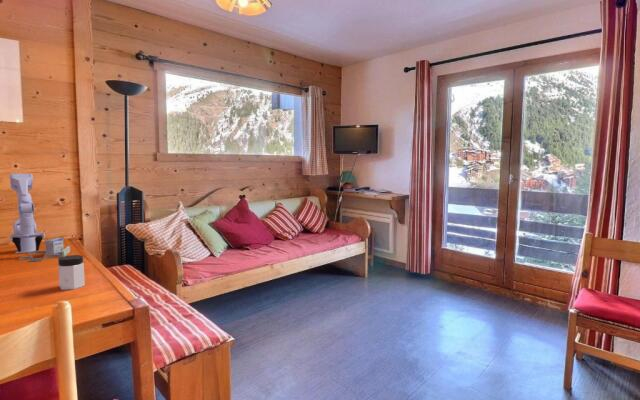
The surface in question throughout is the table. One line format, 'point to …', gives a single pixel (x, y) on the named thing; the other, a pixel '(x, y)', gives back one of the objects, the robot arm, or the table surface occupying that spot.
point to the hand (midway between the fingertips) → (28, 251)
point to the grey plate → (35, 259)
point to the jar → (71, 272)
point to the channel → (47, 255)
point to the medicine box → (54, 246)
